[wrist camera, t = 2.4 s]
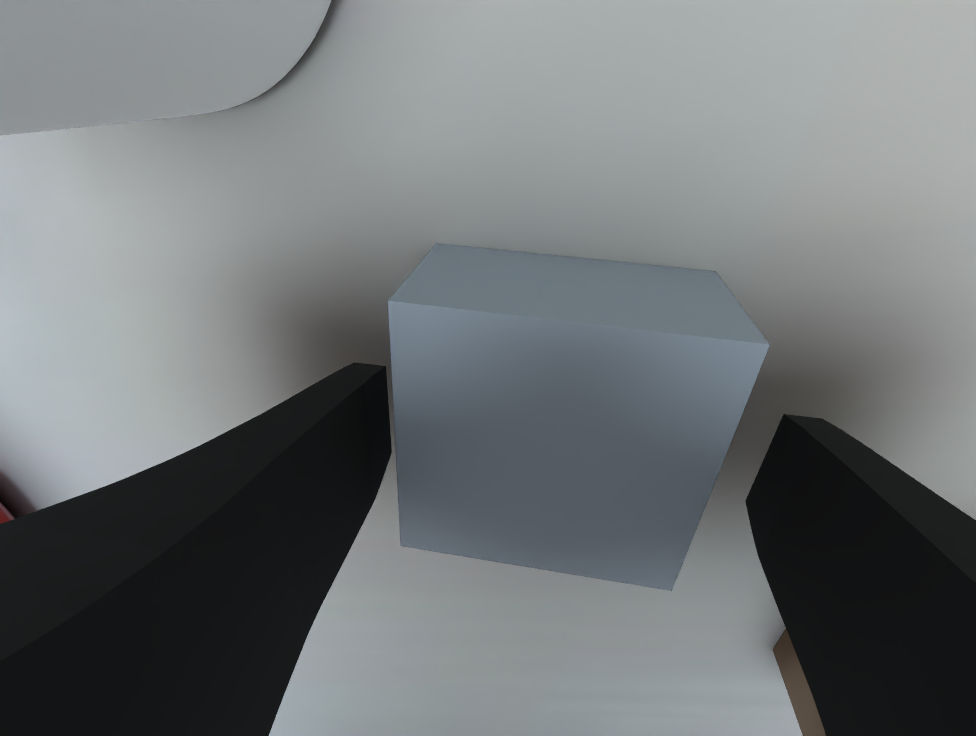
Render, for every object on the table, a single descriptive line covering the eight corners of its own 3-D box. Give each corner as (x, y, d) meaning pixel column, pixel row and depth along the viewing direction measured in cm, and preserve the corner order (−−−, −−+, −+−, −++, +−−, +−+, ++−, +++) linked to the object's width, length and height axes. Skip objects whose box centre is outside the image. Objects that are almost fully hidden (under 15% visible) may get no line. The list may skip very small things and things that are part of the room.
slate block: (649, 475, 11) (671, 590, 9) (437, 445, 12) (400, 546, 9) (712, 267, 9) (769, 344, 6) (439, 239, 9) (387, 300, 7)
